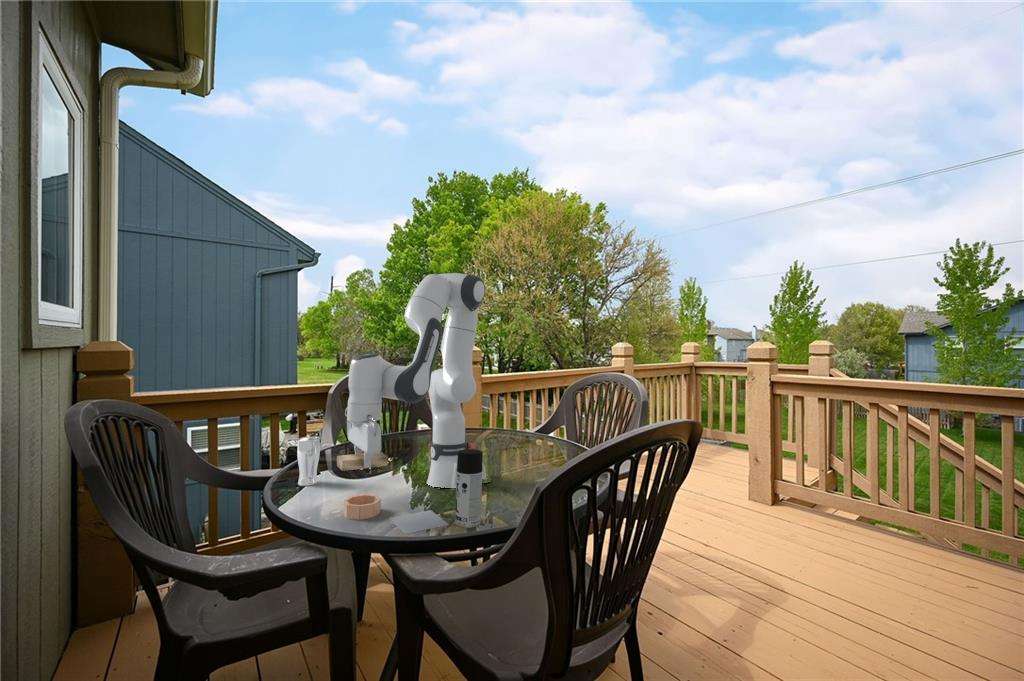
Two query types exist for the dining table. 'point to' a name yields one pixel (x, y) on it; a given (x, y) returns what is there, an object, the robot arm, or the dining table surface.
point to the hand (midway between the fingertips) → (362, 463)
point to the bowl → (362, 507)
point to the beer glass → (308, 460)
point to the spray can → (469, 488)
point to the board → (360, 461)
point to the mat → (418, 521)
